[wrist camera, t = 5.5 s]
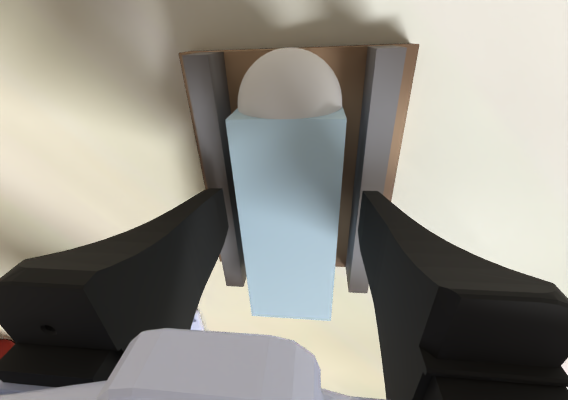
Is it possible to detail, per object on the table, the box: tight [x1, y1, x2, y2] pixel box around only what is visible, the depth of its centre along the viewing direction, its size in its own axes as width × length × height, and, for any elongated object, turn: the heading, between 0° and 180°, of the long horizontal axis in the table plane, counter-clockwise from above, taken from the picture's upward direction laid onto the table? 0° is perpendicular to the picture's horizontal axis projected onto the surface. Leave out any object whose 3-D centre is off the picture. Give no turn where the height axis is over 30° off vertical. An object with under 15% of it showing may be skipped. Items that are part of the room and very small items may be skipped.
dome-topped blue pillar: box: [225, 47, 347, 321], centre depth 13 cm, size 12×4×4 cm, turn 2°
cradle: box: [179, 43, 419, 293], centre depth 14 cm, size 12×10×3 cm
